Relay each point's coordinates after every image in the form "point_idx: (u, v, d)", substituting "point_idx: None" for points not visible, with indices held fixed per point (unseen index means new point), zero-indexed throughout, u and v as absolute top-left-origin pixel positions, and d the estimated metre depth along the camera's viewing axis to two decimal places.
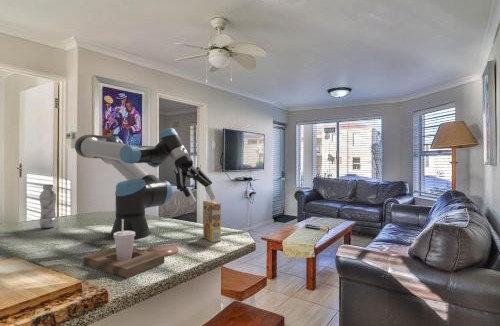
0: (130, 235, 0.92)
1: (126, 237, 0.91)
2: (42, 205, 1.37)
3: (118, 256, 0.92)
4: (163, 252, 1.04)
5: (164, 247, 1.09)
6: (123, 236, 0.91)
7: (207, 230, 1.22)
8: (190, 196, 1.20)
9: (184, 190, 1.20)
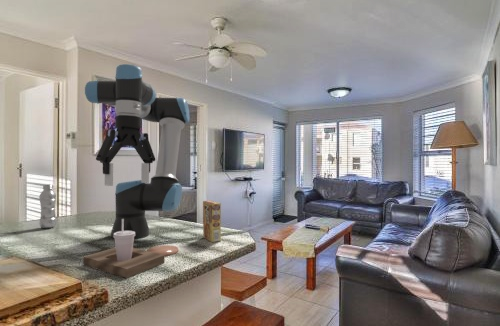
0: (130, 235, 0.92)
1: (126, 237, 0.91)
2: (42, 205, 1.37)
3: (118, 256, 0.92)
4: (163, 252, 1.04)
5: (164, 247, 1.09)
6: (123, 236, 0.91)
7: (207, 230, 1.22)
8: (108, 176, 0.88)
9: (104, 165, 0.87)
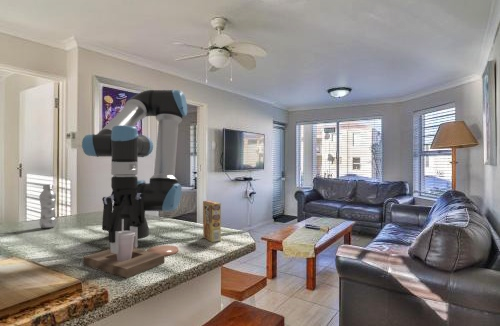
0: (130, 235, 0.92)
1: (126, 237, 0.91)
2: (42, 205, 1.37)
3: (118, 256, 0.92)
4: (163, 252, 1.04)
5: (164, 247, 1.09)
6: (123, 236, 0.91)
7: (207, 230, 1.22)
8: (114, 244, 0.90)
9: (110, 234, 0.89)
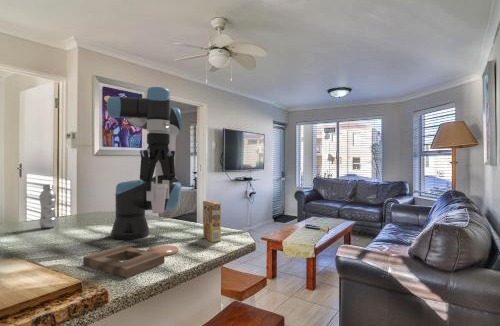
0: (164, 186, 1.03)
1: (160, 187, 1.02)
2: (42, 205, 1.37)
3: (153, 204, 1.03)
4: (163, 252, 1.04)
5: (164, 247, 1.09)
6: (158, 186, 1.02)
7: (207, 230, 1.22)
8: (150, 192, 1.01)
9: (146, 183, 1.00)
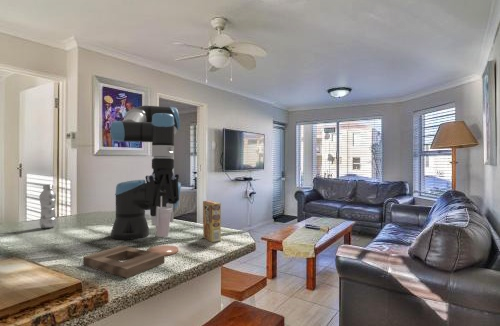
0: (168, 210, 1.05)
1: (165, 211, 1.04)
2: (42, 205, 1.37)
3: (158, 228, 1.04)
4: (163, 252, 1.04)
5: (164, 247, 1.09)
6: (163, 210, 1.03)
7: (207, 230, 1.22)
8: (155, 217, 1.03)
9: (152, 208, 1.02)
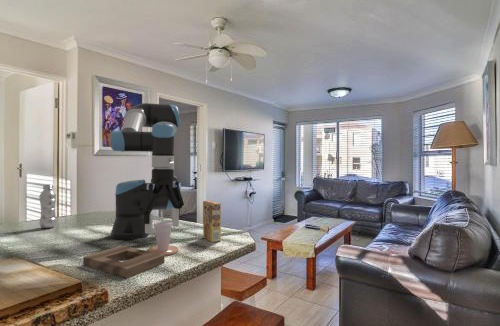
0: (169, 224, 1.05)
1: (165, 226, 1.04)
2: (42, 205, 1.37)
3: (158, 242, 1.05)
4: (163, 252, 1.04)
5: None
6: (163, 225, 1.04)
7: (207, 230, 1.22)
8: (148, 225, 1.00)
9: (145, 216, 1.00)
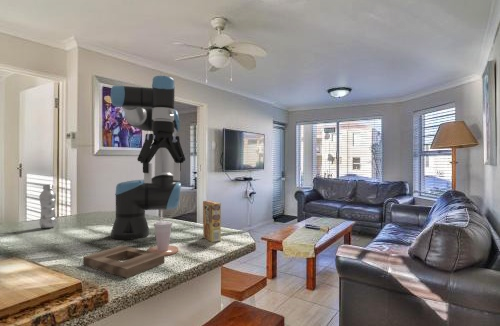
0: (169, 224, 1.05)
1: (165, 226, 1.04)
2: (42, 205, 1.37)
3: (158, 242, 1.05)
4: (163, 252, 1.04)
5: None
6: (163, 225, 1.04)
7: (207, 230, 1.22)
8: (147, 174, 1.00)
9: (144, 165, 0.99)
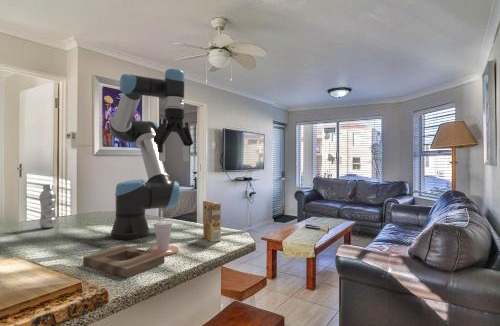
0: (169, 224, 1.05)
1: (165, 226, 1.04)
2: (42, 205, 1.37)
3: (158, 242, 1.05)
4: (163, 252, 1.04)
5: None
6: (163, 225, 1.04)
7: (207, 230, 1.22)
8: (161, 154, 1.16)
9: (159, 145, 1.15)
